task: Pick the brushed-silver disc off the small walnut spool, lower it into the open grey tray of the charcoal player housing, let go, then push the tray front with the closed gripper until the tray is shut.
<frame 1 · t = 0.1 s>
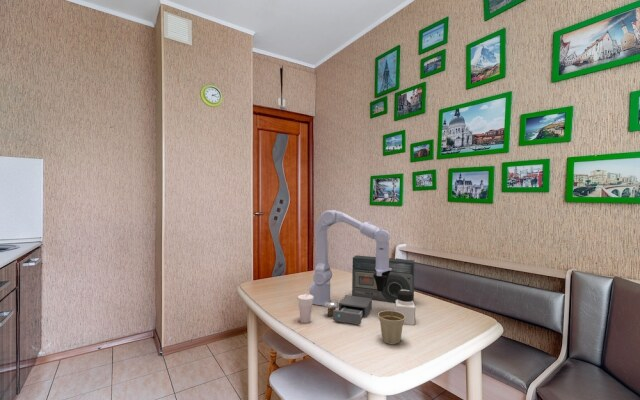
hand: (381, 288, 127), 10 cm above the table, tool pointing down, fingers open, 7 cm apart
flower pot: (391, 340, 101), on the table
disc: (331, 306, 122), point 4 cm above the table, touching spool
smoothie: (305, 321, 116), on the table
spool: (331, 315, 122), on the table
tray: (350, 312, 119), point 3 cm above the table, slide at 8.0 cm
cassette player: (382, 299, 143), on the table
housing: (356, 310, 128), on the table
medicine bottle: (404, 321, 118), on the table
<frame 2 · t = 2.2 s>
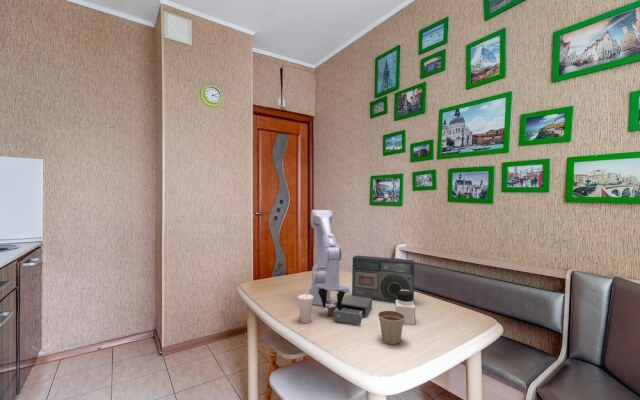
hand: (331, 308, 122), 3 cm above the table, tool pointing down, fingers closed on disc, 6 cm apart
disc: (331, 306, 122), point 4 cm above the table, touching gripper, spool
everything else where it was.
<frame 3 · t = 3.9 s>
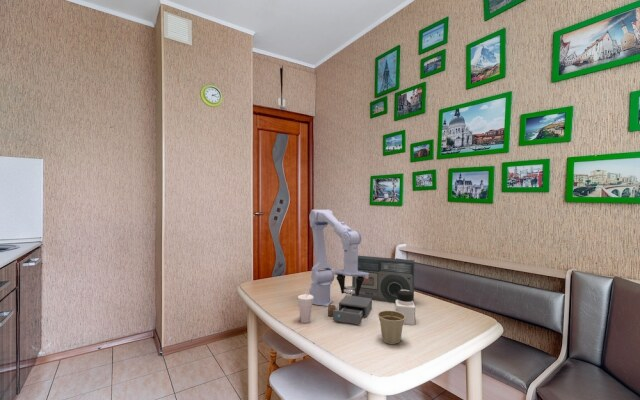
hand: (350, 293, 118), 10 cm above the table, tool pointing down, fingers closed on disc, 6 cm apart
disc: (350, 292, 118), point 11 cm above the table, touching gripper
everything else where it was.
when the fingers open (3 cm above the table, at t = 5.8 s): disc drops 2 cm, resting on tray.
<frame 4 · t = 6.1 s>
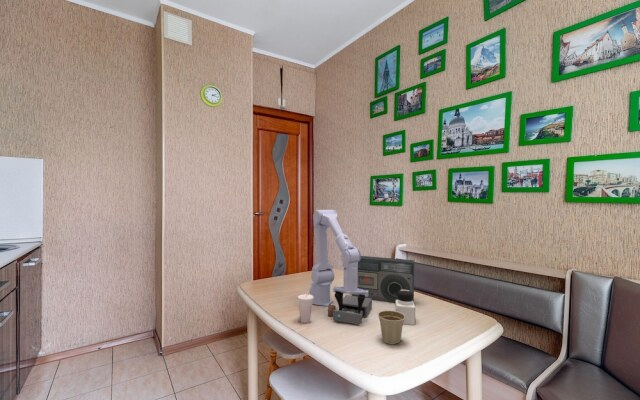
hand: (350, 311, 118), 3 cm above the table, tool pointing down, fingers open, 7 cm apart
disc: (349, 315, 118), point 2 cm above the table, touching tray
tray: (350, 312, 119), point 3 cm above the table, slide at 8.0 cm, touching disc
everything else where it was.
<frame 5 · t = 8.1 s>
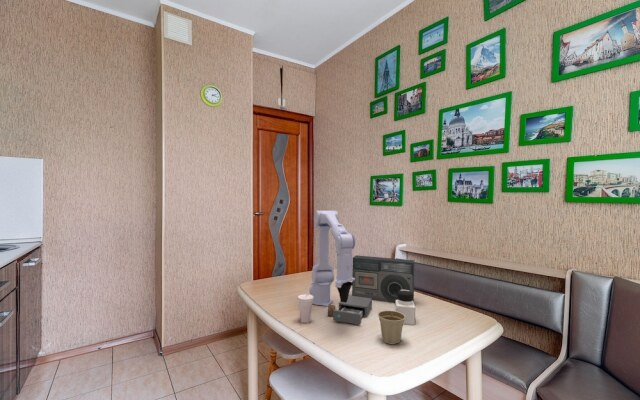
hand: (343, 301, 110), 10 cm above the table, tool pointing down, fingers closed
nothing on the table moved.
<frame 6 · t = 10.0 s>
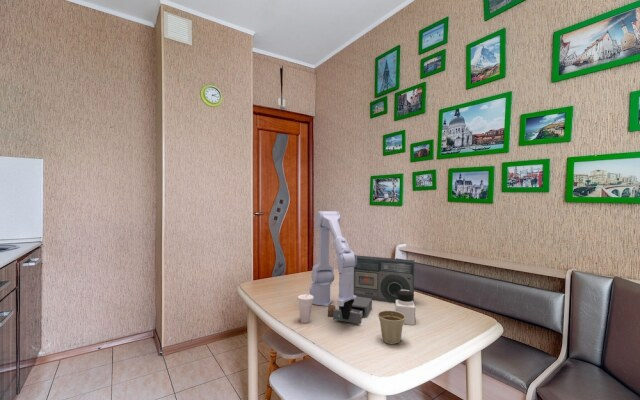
hand: (345, 318, 113), 2 cm above the table, tool pointing down, fingers closed
tray: (350, 312, 119), point 3 cm above the table, slide at 7.5 cm, touching disc, gripper
everything else where it was.
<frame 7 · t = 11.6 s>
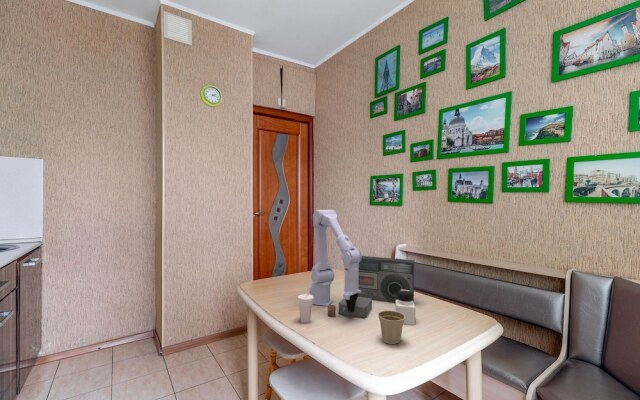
hand: (351, 311, 120), 2 cm above the table, tool pointing down, fingers closed
disc: (354, 308, 126), point 2 cm above the table, touching tray
tray: (355, 305, 126), point 3 cm above the table, slide at -0.1 cm, touching disc, gripper
everything else where it was.
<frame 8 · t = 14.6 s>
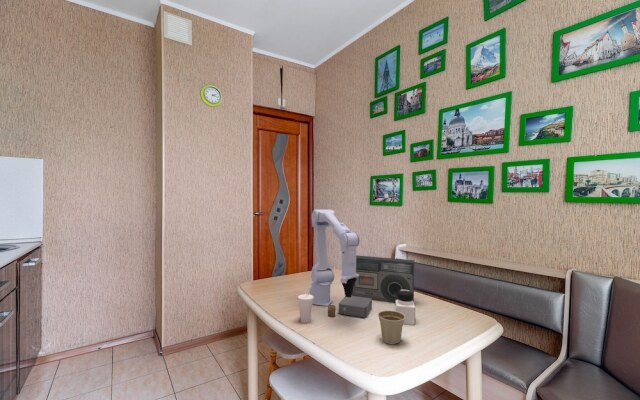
hand: (348, 296, 116), 10 cm above the table, tool pointing down, fingers closed
tray: (355, 306, 126), point 3 cm above the table, slide at 0.0 cm, touching disc
everything else where it was.
at the end: tray slide at 0.0 cm; disc inside the target area on the housing (0.1 cm from its centre), point 1.5 cm above the housing's base; the gripper is holding nothing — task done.
